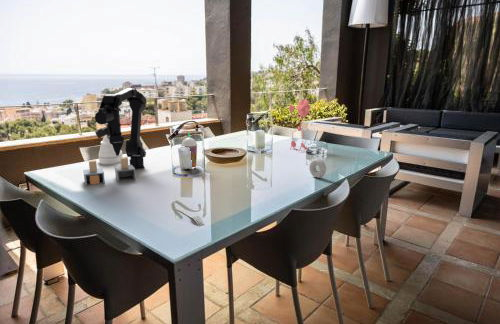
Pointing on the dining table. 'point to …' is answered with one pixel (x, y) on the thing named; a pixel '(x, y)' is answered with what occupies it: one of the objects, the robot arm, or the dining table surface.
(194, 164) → the smoothie
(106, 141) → the honey pot
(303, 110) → the figurine
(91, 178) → the letter cube
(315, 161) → the donut
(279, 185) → the dining table surface
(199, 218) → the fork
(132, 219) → the dining table surface
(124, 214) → the dining table surface
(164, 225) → the dining table surface
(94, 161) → the blue-grey and tan block
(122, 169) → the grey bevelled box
